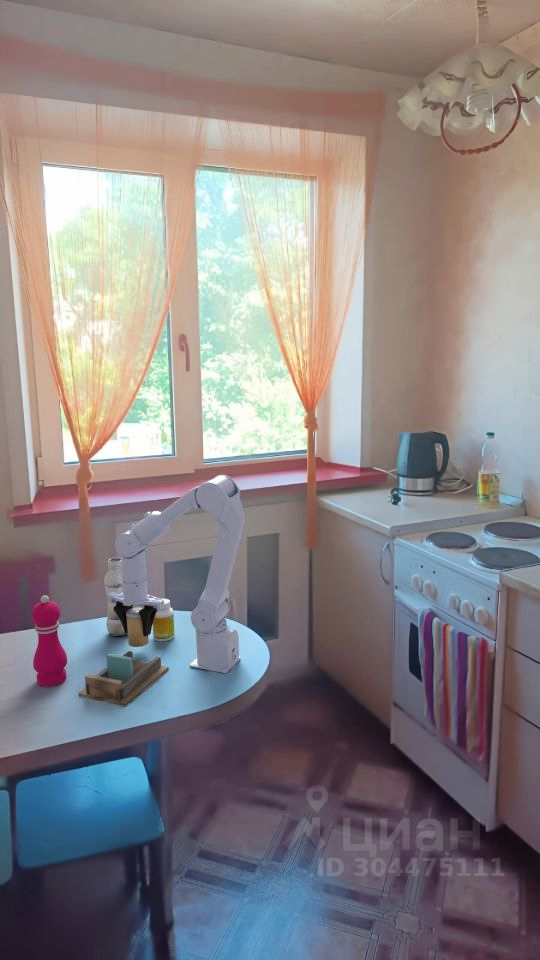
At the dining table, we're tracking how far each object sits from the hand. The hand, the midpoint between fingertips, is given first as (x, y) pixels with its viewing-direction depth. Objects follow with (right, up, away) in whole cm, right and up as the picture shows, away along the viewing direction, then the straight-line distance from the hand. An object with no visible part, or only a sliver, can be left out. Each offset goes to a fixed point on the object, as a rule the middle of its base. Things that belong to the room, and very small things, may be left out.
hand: (137, 633), depth 156 cm
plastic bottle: (-7, -3, +12) cm, 15 cm away
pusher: (-1, -7, -14) cm, 16 cm away
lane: (0, -8, -13) cm, 15 cm away
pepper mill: (-17, -8, -11) cm, 22 cm away
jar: (0, -2, 0) cm, 2 cm away
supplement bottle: (+5, -4, +10) cm, 11 cm away
